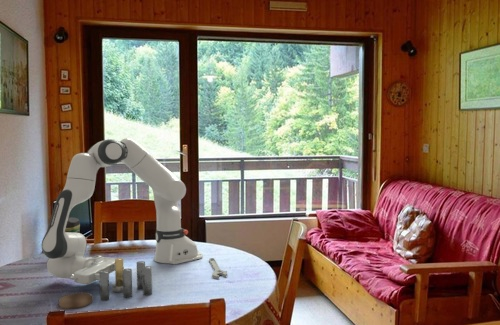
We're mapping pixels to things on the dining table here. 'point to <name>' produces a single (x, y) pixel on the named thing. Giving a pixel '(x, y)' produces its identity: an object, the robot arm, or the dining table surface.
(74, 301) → the walnut plate
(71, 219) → the coffee jar
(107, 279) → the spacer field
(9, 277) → the dining table surface
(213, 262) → the adjustable wrench
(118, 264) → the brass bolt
